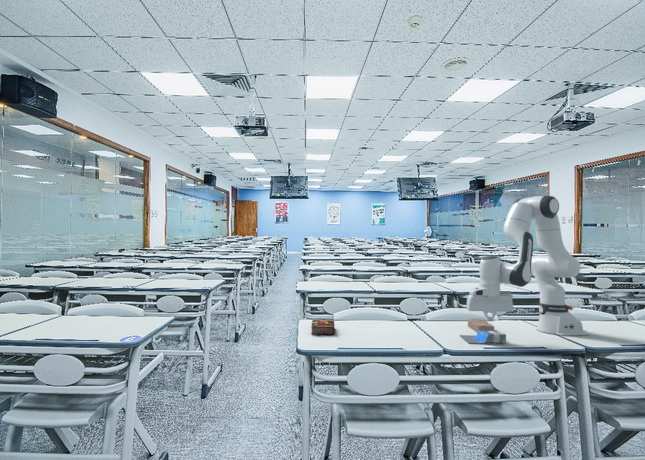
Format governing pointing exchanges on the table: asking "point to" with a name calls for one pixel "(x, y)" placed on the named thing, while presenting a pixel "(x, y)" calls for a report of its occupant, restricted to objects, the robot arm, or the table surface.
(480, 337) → the label tape cartridge
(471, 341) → the pad
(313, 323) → the decorated brown box
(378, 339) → the table surface
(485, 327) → the brick
